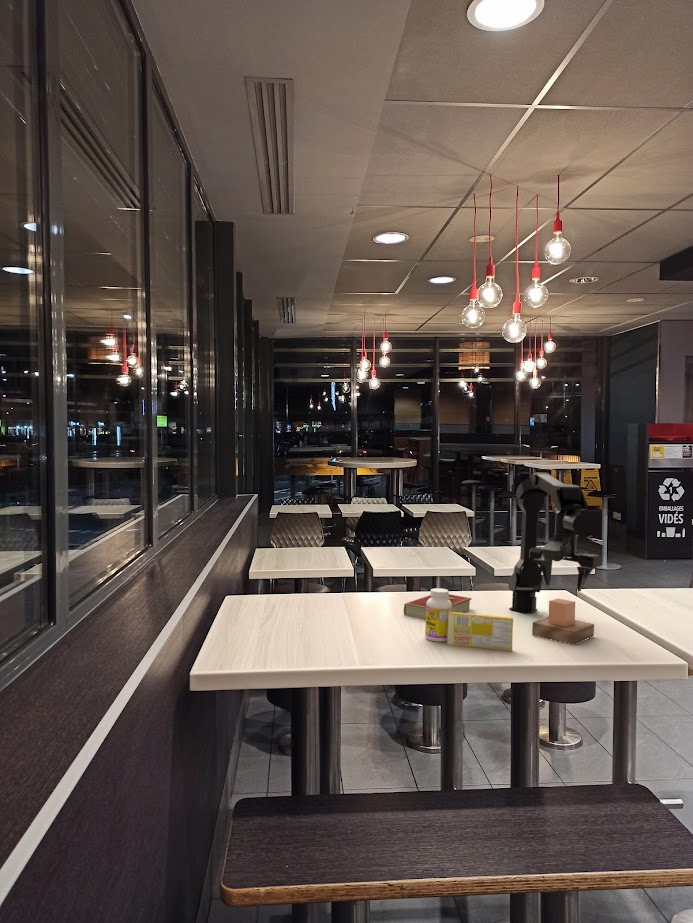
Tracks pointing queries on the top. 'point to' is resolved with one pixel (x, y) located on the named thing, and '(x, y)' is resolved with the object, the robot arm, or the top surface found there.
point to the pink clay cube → (561, 612)
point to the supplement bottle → (437, 615)
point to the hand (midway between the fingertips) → (563, 588)
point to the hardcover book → (419, 605)
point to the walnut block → (563, 631)
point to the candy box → (480, 631)
